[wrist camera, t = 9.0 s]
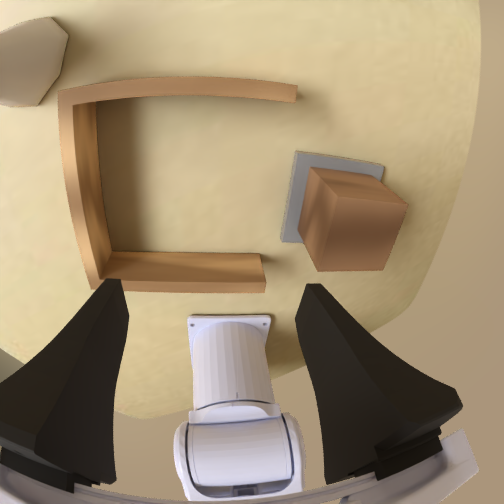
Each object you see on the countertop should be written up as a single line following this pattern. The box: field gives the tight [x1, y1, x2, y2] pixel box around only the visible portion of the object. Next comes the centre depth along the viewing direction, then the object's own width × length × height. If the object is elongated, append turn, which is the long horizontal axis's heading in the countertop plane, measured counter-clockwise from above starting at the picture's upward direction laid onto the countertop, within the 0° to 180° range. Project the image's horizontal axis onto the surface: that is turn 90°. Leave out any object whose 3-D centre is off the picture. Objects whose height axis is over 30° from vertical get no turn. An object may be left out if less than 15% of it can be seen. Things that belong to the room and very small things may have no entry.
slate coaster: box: [280, 151, 384, 243], centre depth 20 cm, size 7×7×1 cm
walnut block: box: [297, 167, 408, 272], centre depth 18 cm, size 5×5×5 cm
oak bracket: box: [58, 77, 298, 293], centre depth 17 cm, size 14×13×4 cm
